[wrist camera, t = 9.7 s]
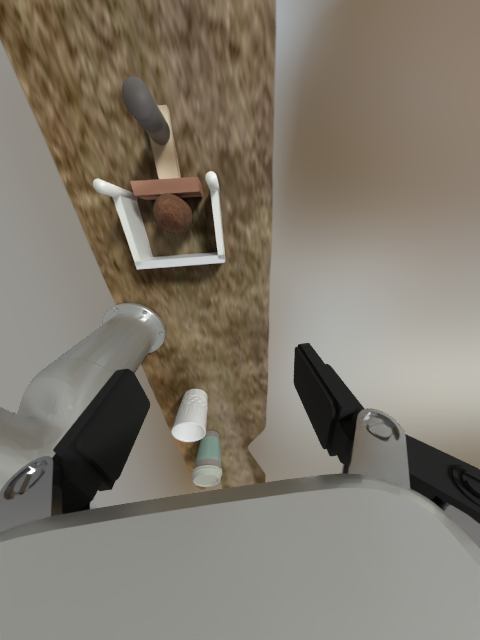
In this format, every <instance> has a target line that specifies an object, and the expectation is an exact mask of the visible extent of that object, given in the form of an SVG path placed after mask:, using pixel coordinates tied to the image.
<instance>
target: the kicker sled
mask: <svg viewBox="0 0 480 640" xmlns="http://www.w3.org/2000/svg"><path fill="white" fill-rule="evenodd" d="M122 97H123V101H124V104H125V106H126V108H127V109H128V110H129V112H130V113H131V114H132V115H133V117H134V118H135V119H136V120H137V121H138V123H139V124H140V125H141V126H142V127H143V129H144V130H145V131H146V132H147V133H148V135H149V138H150V142H151V147H152V151H153V156H154V160H155V165H156V169H157V173H158V178H159V179H156V180H141V181H130V182H131V186H132V189H133V193H134V196H136V197H139V198H142V199H144V200H156V199H157V198H158V197H159V196H160V195H162V194H164V193H170V194H173V195H176V196H178V197H179V198H187V197H201V196H203V192H202V184H201V182H200V180H199V179H198V177H186V178H181V176H180V170H179V165H178V159H177V153H176V148H175V142H174V136H173V131H172V125H171V119H170V114H169V110H168V108H167V106H166V105H157V104H156V102H155V100H154V99H153V97H152V95H151V93H150V92H149V90H148V88H147V86H146V85H145V84H144V82H143V81H142V80H140V79H139V78H137V77H128V78H127V79H126V80H125V81H124V83H123V86H122Z"/></svg>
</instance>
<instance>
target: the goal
mask: <svg viewBox="0 0 480 640" xmlns="http://www.w3.org/2000/svg"><path fill="white" fill-rule="evenodd" d="M206 182H207V185H208V187H209V189H210V193H211V201H212V209H213V218H214V226H215V235H216V243H217V252H212V253H199V254H186V255H173V256H160V257H153V255H152V252H151V248H150V245H149V241H148V238H147V234H146V231H145V227H144V224H143V220H142V217H141V213H140V210H139V206H138V203H137V200H138V198H137V197H136V196H134V193H133V192H130V191H128V190H125V189H123V188H120V187H118V186H115V185H113V184H110V183H108V182H105V181H103V180H100V179H95V180H94V181H93V186H94V188H95V190H96V191H97V192H98V193H101V194H104V195H108V196H111V197H113V200H114V203H115V206H116V209H117V212H118V215H119V218H120V221H121V224H122V227H123V230H124V233H125V236H126V238H127V241H128V244H129V247H130V250H131V253H132V256H133V259H134V262H135V265H136V268H137V270H138V269H150V268H163V267H176V266H189V265H201V264H214V263H225V249H224V239H223V229H222V219H221V209H220V199H219V195H220V189H219V184H218V180H217V176H216V174H215V173H214V172H212V171H210V172H208V173H207V174H206Z"/></svg>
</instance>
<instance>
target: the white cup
mask: <svg viewBox="0 0 480 640" xmlns="http://www.w3.org/2000/svg"><path fill="white" fill-rule="evenodd" d="M206 421H207V394H206V392H204V391H203V390H201V389H190V390H188V391H186V392H185V394H184V395H183V399H182V402H181V404H180V407H179V409H178V412H177V415H176V418H175V421H174V425H173V428H172V431H171V433H172V435H173V437H174V438H176V439H178V440H180V441H184V442H194V441H198V440H200V439H202V438H203V437H204V436H205V434H206Z"/></svg>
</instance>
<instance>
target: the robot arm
mask: <svg viewBox="0 0 480 640" xmlns="http://www.w3.org/2000/svg"><path fill="white" fill-rule="evenodd" d="M165 336H166V330H165V326H164V323H163V322H162V320H161V318H160V317H159V316H158V315H157V314H156V313H155V312H154V311H152V310H151V309H149V308H147V307H145V306H143V305H140V304H136V303H121V304H117V305H115V306H113V307H112V308H110V309H109V310H108V311H107V312H106V313H105V315H104V317H103V320H102V326H101V327H99V328H98V329H97V330H95V331H94V332H92V333H91V334H90V335H89V336H87V337H86V338H85V339H83V340H82V341H80V342H79V343H78V344H76V345H75V346H74V347H72V348H71V349H70V350H69V351H67V352H66V353H65V354H63V355H62V356H60V357H59V358H58V359H57V360H55V361H54V362H53V363H51V364H50V365H48V366H47V367H46V368H44V369H43V370H42V371H41V372H39V373H38V374H37V375H36V376H35V377H34V379H33V380H32V381H31V382H30V384H29V385H28V387H27V388H26V390H25V393H24V395H23V397H22V400H21V403H20V407H19V410H18V414H16V413H12V412H9V411H7V410H5V409H3V408H1V407H0V640H480V470H479V469H478V468H476V467H474V466H472V465H470V464H467V463H466V462H463V461H461V460H459V459H457V458H455V457H453V456H451V455H449V454H446V453H444V452H442V451H440V450H438V449H436V448H434V447H431V446H429V445H427V444H425V443H423V442H421V441H418V440H416V439H414V438H412V437H410V436H408V435H406V434H405V433H404V430H403V429H402V427H401V426H400V424H399V423H398V422H397V421H396V420H395V419H394V418H392V417H391V416H389V415H388V414H386V413H384V412H382V411H379V410H376V409H364V408H363V406H362V405H361V404H360V403H359V402H358V400H357V399H356V398H355V396H354V395H353V394H352V392H351V391H350V390H349V389H348V387H347V386H346V385H345V384H344V382H343V381H342V380H341V378H340V377H339V376H338V375H337V374H336V372H335V371H334V370H333V368H332V367H331V366H330V365H328V364H325V363H324V362H323V361H322V360H321V358H320V357H319V356H318V354H317V353H316V352H315V350H314V349H313V348H312V346H311V345H310V344H309V343H305V344H299V345H298V347H296V348H295V359H294V360H295V361H294V385H295V388H296V390H297V392H298V395H299V397H300V399H301V401H302V404H303V406H304V408H305V410H306V412H307V415H308V417H309V419H310V421H311V424H312V426H313V428H314V430H315V432H316V435H317V437H318V439H319V441H320V444H321V445H322V447H323V449H327V451H328V453H329V455H330V456H336V455H337V456H338V458H339V460H340V462H341V463H343V469H342V474H330V475H319V476H311V477H303V478H295V479H287V480H280V481H273V482H267V483H259V484H252V485H245V486H239V487H232V488H225V489H219V490H212V491H205V492H199V493H192V494H185V495H179V496H172V497H166V498H159V499H153V500H147V501H140V502H134V503H127V504H121V505H115V506H109V507H102V508H96V502H95V495H96V493H97V491H98V490H99V491H103V490H111V489H112V487H113V485H114V483H115V481H116V480H117V479H118V478H119V477H120V475H121V472H122V470H123V468H124V465H125V463H126V461H127V459H128V456H129V454H130V452H131V449H132V447H133V445H134V442H135V440H136V438H137V435H138V433H139V431H140V429H141V426H142V424H143V422H144V419H145V417H146V415H147V412H148V410H149V408H150V402H149V400H148V398H147V396H146V394H145V392H144V390H143V389H142V387H141V385H140V383H139V381H138V379H137V378H136V376H135V374H134V373H135V372H136V370H137V369H138V367H139V366H140V364H141V363H142V361H143V360H144V358H145V357H146V355H147V354H148V353H152V352H154V351H156V350H157V349H158V348H159V347H160V346H161V345H162V344H163V342H164V340H165Z"/></svg>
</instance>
